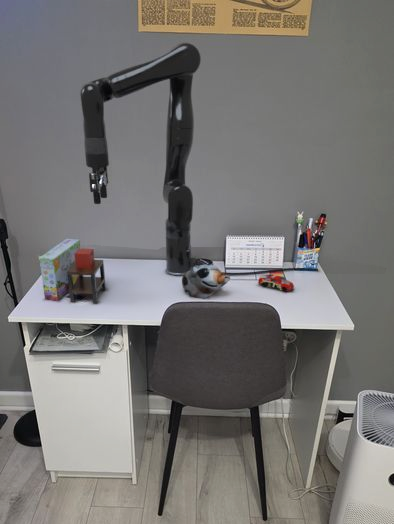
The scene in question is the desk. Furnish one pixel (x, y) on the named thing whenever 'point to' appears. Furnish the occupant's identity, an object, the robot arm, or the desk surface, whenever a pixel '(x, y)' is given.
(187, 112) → the robot arm
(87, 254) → the block
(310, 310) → the desk surface
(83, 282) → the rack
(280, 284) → the race car
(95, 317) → the desk surface
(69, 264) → the snack box
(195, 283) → the spotted animal figurine
